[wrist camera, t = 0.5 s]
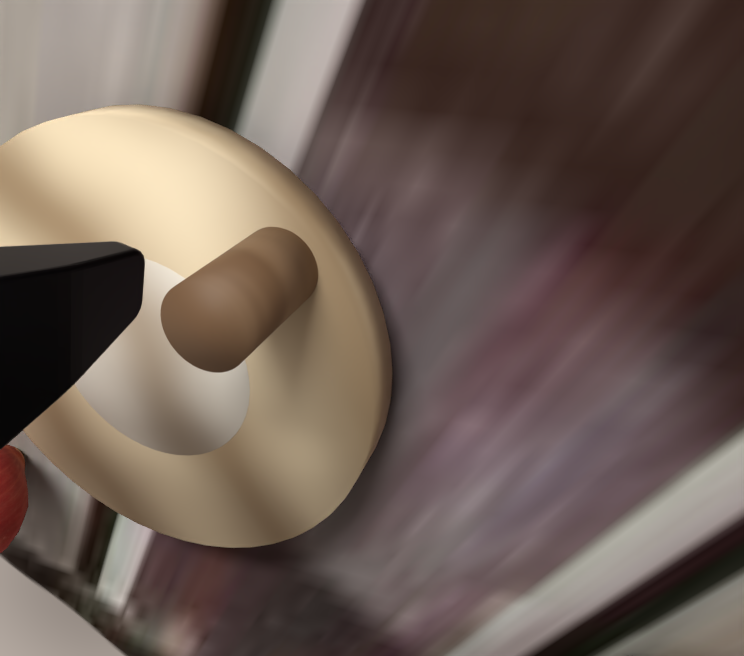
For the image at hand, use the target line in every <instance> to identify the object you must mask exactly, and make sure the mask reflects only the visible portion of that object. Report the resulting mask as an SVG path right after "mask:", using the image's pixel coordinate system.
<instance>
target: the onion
mask: <svg viewBox="0 0 744 656" xmlns="http://www.w3.org/2000/svg"><path fill="white" fill-rule="evenodd" d="M27 508H28V488H27V481H26V476H25V459H24V456H23V454H22V453H21V452H20V450H18V449H17V448H15V447H13V446H10V445H5V446H4V447H3V448H2V449H1V450H0V553H1V552H2V551H4V550H5V549H6V548H7V547H8V546H9V544H10V543H11V542H12V540H13V539H14V538H15V536H16V535H17V533H18V532H19V530H20V527H21V525H22V522H23V520H24V517H25V514H26V511H27Z"/></svg>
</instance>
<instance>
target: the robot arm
mask: <svg viewBox="0 0 744 656" xmlns="http://www.w3.org/2000/svg"><path fill="white" fill-rule="evenodd" d="M144 272H145V259H144V255H143V254H142V252H141V251H139V250H138V249H135V248H133V247H130V246H128V245H126V244H123V243H121V242H117V241H107V242H86V243H65V244H44V245H23V246H2V247H0V450H1V449H2V448H3V447H4V446H5V445H7V444H8V443H9V442H10V441H11V440H12V439H13V438H15V437H16V436H17V435H18V434H19V433H20V432H21V431H23V430H24V429H25V428H26V427H27V426H28V425H29V424H31V423H32V422H33V421H34V420H35V419H36V418H37V417H39V416H40V415H41V414H42V413H43V412H44V411H45V410H47V409H48V408H49V407H50V406H51V405H52V404H53V403H55V402H56V401H57V400H58V399H59V398H60V397H61V396H62V395H63V394H65V393H66V392H67V391H68V390H69V389H70V388H71V387H72V386H73V385H74V384H75V383H76V382H77V381H78V380H79V379H80V378H81V377H82V376H83V375H84V374H85V372H86V371H87V370H88V369H89V368H90V367H91V366H92V365H93V364H94V363H95V362H96V361H97V359H98V358H99V357H100V356H101V355H102V354H103V353H104V352H105V351H106V350H107V349H108V348H109V346H110V345H111V344H112V343H113V342H114V341H115V340H116V339H117V338H118V337H119V336H120V335H121V333H122V332H123V331H124V330H125V329H126V328H127V327H128V326H129V325H130V324H131V323H132V322H133V320H134V319H135V318H136V317H137V315H138V313H139V311H140V309H141V306H142V301H143V286H144Z"/></svg>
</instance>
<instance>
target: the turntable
mask: <svg viewBox="0 0 744 656" xmlns="http://www.w3.org/2000/svg"><path fill="white" fill-rule="evenodd" d="M107 241H117V242H121V243H123V244H126V245H128V246H130V247H133V248H135V249H138V250H139V251H141V252H142V254H143V255H144V259H145V272H144V286H143V301H142V306H141V309H140V311H139V313H138V315H137V317H136V318H135V319H134V320H133V322H132V323H131V324H130V325H129V326H128V327H127V328H126V329H125V330H124V331H123V332H122V333H121V335H120V336H119V337H118V338H117V339H116V340H115V341H114V342H113V343H112V344H111V345H110V346H109V348H108V349H107V350H106V351H105V352H104V353H103V354H102V355H101V356H100V357H99V358H98V359H97V361H96V362H95V363H94V364H93V365H92V366H91V367H90V368H89V369H88V370H87V371H86V372H85V374H84V375H83V376H82V377H81V378H80V379H79V380H78V381H77V382H76V383H75V384H74V385H73V386H72V387H71V388H70V389H69V390H68V391H67V392H66V393H65V394H63V395H62V396H61V397H60V398H59V399H58V400H57V401H56V402H55V403H53V404H52V405H51V406H50V407H49V408H48V409H47V410H45V411H44V412H43V413H42V414H41V415H40V416H39V417H37V418H36V419H35V420H34V421H33V422H32V423H31V424H29V425H28V426H27V427H26V428H25V429H24V430H23V431H24V432H25V433H26V434H27V436H28V437H29V438H30V439H31V441H32V442H33V443H34V444H35V445H36V446H37V447H38V448H39V449H40V450H41V451H42V453H43V454H44V455H45V456H46V457H47V458H48V459H49V460H50V461H51V462H52V463H53V464H54V465H55V466H56V467H58V468H59V469H60V470H61V471H62V472H63V473H64V474H65V475H66V476H67V477H69V478H70V479H71V480H72V481H73V482H74V483H76V484H77V485H78V486H80V487H81V488H82V489H84V490H85V491H86V492H87V493H89V494H90V495H91V496H93V497H94V498H96V499H97V500H99V501H100V502H102V503H103V504H105V505H106V506H108V507H110V508H111V509H113V510H114V511H116V512H118V513H120V514H121V515H123V516H125V517H127V518H129V519H131V520H133V521H134V522H136V523H138V524H141V525H143V526H145V527H148V528H150V529H152V530H155V531H157V532H159V533H162V534H165V535H168V536H171V537H174V538H177V539H180V540H184V541H188V542H193V543H197V544H202V545H207V546H217V547H227V548H242V547H257V546H263V545H269V544H275V543H278V542H281V541H284V540H287V539H290V538H294V537H296V536H298V535H300V534H302V533H304V532H306V531H308V530H310V529H311V528H313V527H315V526H316V525H317V524H319V523H320V522H321V521H323V520H324V519H325V518H327V517H328V516H329V515H331V513H332V512H333V511H334V510H335V509H336V508H337V507H338V506H339V505H340V504H341V503H342V501H343V500H344V499H345V498H346V497H347V495H348V493H349V492H350V490H351V489H352V487H353V485H354V484H355V482H356V481H357V479H358V477H359V476H360V474H361V472H362V470H363V469H364V467H365V465H366V463H367V462H368V460H369V458H370V457H371V455H372V453H373V451H374V450H375V448H376V446H377V444H378V441H379V439H380V436H381V434H382V431H383V429H384V426H385V423H386V419H387V414H388V410H389V405H390V401H391V388H392V373H393V372H392V360H391V347H390V340H389V336H388V331H387V327H386V322H385V317H384V313H383V310H382V307H381V305H380V302H379V299H378V296H377V293H376V290H375V288H374V285H373V282H372V280H371V278H370V276H369V274H368V272H367V270H366V268H365V266H364V264H363V262H362V260H361V258H360V256H359V254H358V252H357V250H356V249H355V247H354V246H353V244H352V243H351V241H350V240H349V238H348V237H347V235H346V233H345V232H344V230H343V229H342V227H341V226H340V224H339V223H338V221H337V220H336V219H335V218H334V217H333V215H332V214H331V213H330V212H329V210H328V209H327V208H326V207H325V206H324V204H323V203H322V202H321V201H320V199H319V198H318V197H317V196H316V195H315V194H314V193H313V192H312V191H311V190H310V189H309V188H308V187H307V186H306V185H305V184H304V183H303V182H302V181H301V180H300V179H299V178H298V177H297V176H296V175H295V174H294V173H293V172H292V171H291V170H290V169H288V168H287V167H286V166H284V165H283V164H282V163H280V162H279V161H278V160H277V159H275V158H274V157H273V156H271V155H270V154H269V153H267V152H266V151H265V150H263V149H262V148H261V147H259V146H257V145H256V144H254V143H252V142H251V141H249V140H247V139H246V138H244V137H242V136H240V135H239V134H237V133H235V132H234V131H232V130H230V129H228V128H225V127H223V126H221V125H218V124H216V123H214V122H212V121H209V120H207V119H205V118H202V117H200V116H196V115H192V114H189V113H185V112H182V111H178V110H175V109H171V108H164V107H156V106H148V105H113V106H108V107H103V108H98V109H94V110H89V111H85V112H81V113H77V114H73V115H70V116H66V117H62V118H58V119H54V120H51V121H47V122H44V123H41V124H39V125H37V126H34V127H32V128H30V129H27V130H25V131H22V132H21V133H19V134H18V135H16V136H15V137H13V138H12V139H10V140H9V141H7V142H6V143H4V144H3V145H2V146H0V247H2V246H23V245H44V244H65V243H86V242H107Z"/></svg>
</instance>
